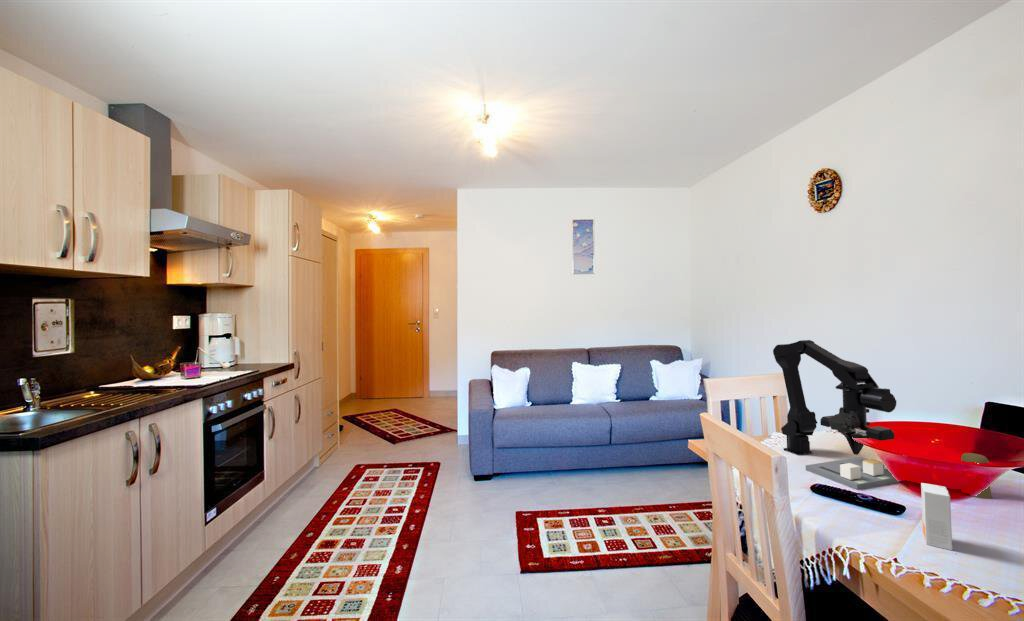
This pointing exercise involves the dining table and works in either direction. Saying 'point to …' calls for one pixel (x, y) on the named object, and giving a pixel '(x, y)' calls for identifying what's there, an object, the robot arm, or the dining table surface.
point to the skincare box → (936, 516)
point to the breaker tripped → (872, 467)
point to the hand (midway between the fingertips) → (855, 454)
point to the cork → (978, 459)
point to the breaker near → (850, 471)
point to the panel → (866, 480)
